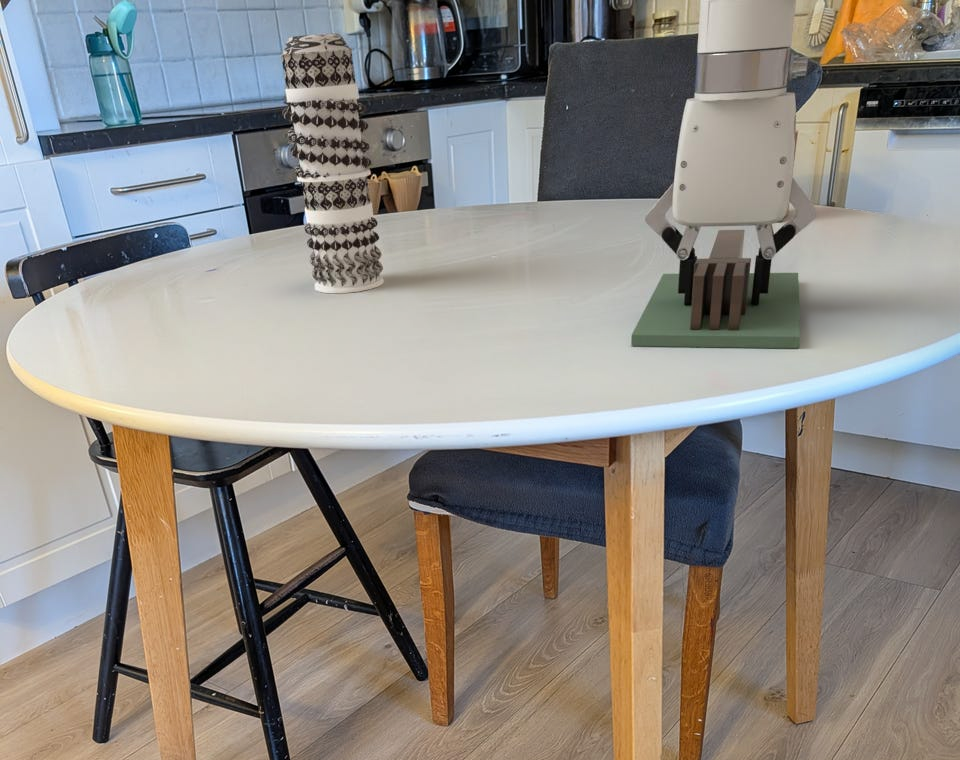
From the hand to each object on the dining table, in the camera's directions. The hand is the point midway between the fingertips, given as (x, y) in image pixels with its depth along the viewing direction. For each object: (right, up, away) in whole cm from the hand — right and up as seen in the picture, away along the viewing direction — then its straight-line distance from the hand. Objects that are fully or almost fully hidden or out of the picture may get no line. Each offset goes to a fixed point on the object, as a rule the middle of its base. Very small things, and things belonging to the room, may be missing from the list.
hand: (722, 299), depth 83 cm
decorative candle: (-39, +10, +23) cm, 46 cm away
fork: (0, 0, +1) cm, 1 cm away
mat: (0, -1, +1) cm, 1 cm away
